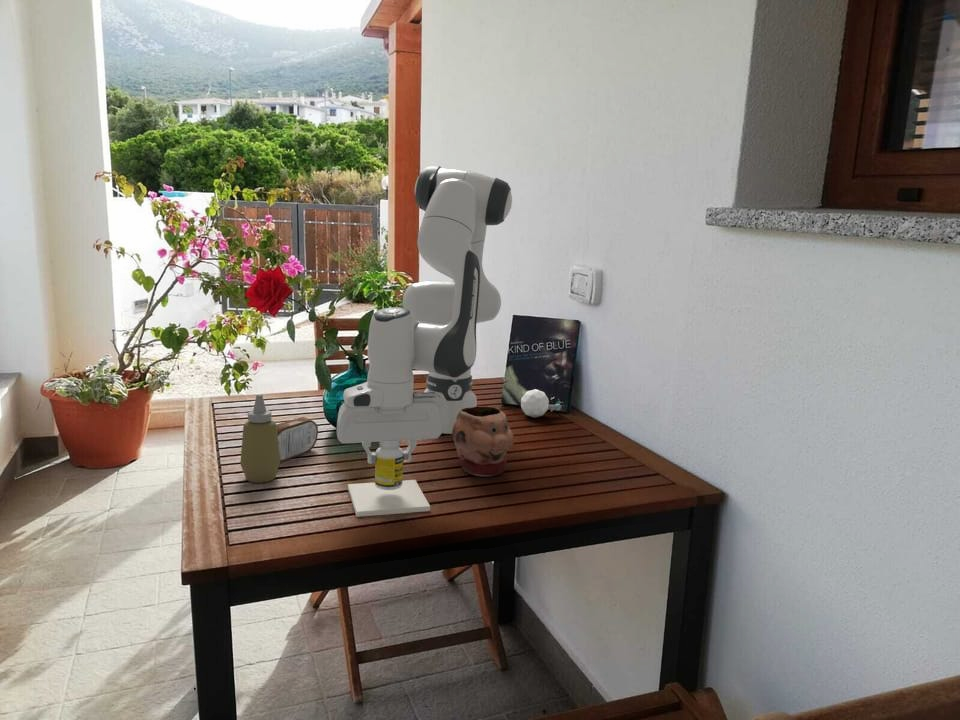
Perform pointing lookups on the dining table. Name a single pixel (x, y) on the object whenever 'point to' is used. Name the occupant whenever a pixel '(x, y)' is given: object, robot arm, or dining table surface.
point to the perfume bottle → (536, 403)
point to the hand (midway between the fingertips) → (389, 461)
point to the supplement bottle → (389, 465)
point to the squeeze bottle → (260, 445)
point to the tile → (387, 499)
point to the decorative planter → (482, 440)
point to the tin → (296, 437)
